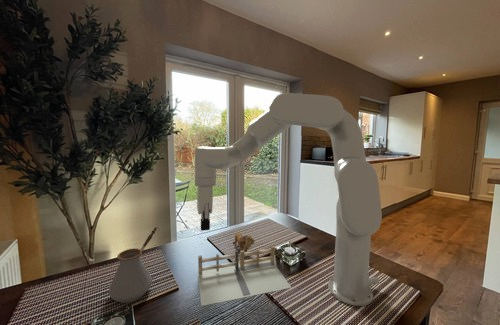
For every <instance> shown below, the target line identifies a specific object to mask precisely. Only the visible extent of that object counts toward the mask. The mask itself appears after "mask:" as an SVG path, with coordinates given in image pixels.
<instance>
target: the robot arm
mask: <svg viewBox="0 0 500 325" xmlns="http://www.w3.org/2000/svg"><path fill="white" fill-rule="evenodd" d="M270 101H271V102H270V103H269V106H268V109H267V110H266V111H265V112H264V113H261V114H260V115H259V116H258V117H256V118H255V119H254V120H252V121H251V122H249V124H248V126H247V128H246V131H245V133H244V134H243V136H242V137H240V138H239V139H238V140H237V141H236V142H234V143H232V144H231V145H230V146H221V147H213V146H198V147H196V148H195V150H194V186H195V187H197V188H196V189H197V192H196V193H197V194H196V196H197V197H196V199H197V201H196V202H197V203H196V204H197V205H196V209H197V210H196V211H197V214H198V215H199V216H200V230H201V231H210V229H211V220H210V219H211V218H210V214H212V213H213V207H214V206H213V203H214V199H213V198H214V187H215V186H216V185H217V170H226V169H227V170H228V169H229V168H233V167H236V166H237V165H239V164H241V163H243V162H244V161H245V160H247V159H248V158H249V157H251V156H252V155H254V154H255V153H256V152H258V150H261V149H262V148H263V147H264V146H265V145H267V144H268V143H269V142H271V141H272V140H273V139H275V138H276V137H278V136H279V135H280V134H282V133H284V132H285V131H286V130H287V129H289V128H290V127H292V126H298V127H299V126H300V127H307V128H315V129H318V130H322V131H324V132H326V133H327V134H328V136H329V138H330V140H331V141H330V142H331V147H332V148H331V149H332V153H333V154H332V155H333V165H334V166H333V167H334V169H333V170H334V172H333V174H334V179H335V180H336V182H337V190H338V199H337V202H336V213H335V214H336V217H335V218H336V224H335V226H336V227H335V232H336V233H335V246H334V265H333V266H334V267H333V268H334V269H333V276H332V277H331V278H330V279H329V280H328V284H327V288H328V289H329V292H330V293H331V294H332V295H333V296H334V298H336V299H337V300H339V301H340V302H343V303H344V304H348V305H350V306H356V307H363V306H367V305H370V304H371V303H372V302H373V298H374V297H373V296H374V294H373V291H372V290H371V287H372V286H373V285H378V284H379V283H380V279H379V278H378V277H377V276H373V277H370V275H369V268H370V255H371V243H372V242H371V241H372V239H371V238H372V235H375V233H376V232H377V231H379V228H380V227H381V224H382V218H383V216H382V203H381V193H380V192H381V191H380V183H379V177H378V174H377V171H376V169H375V168H374V166H373V165H372V164H371V163H370V162H369V161H367V157H366V148H365V145H364V143H365V142H364V137H363V136H364V135H363V133H362V129H361V126H360V124H359V122H358V120H357V119H356V118H355V117H354V116H353V115H352V114H351V113H350V112H348V110H345V109H344V105H343V104H342V102H341V101H340V100H339V99H338V98H336V97H334V96H331V95H326V94H325V95H323V94H307V93H306V94H305V93H296V92H295V93H292V92H284V93H279V94H277V95H276V96H274V98H272V100H270Z"/></svg>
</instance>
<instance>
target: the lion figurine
mask: <svg viewBox="0 0 500 325" xmlns="http://www.w3.org/2000/svg"><path fill="white" fill-rule="evenodd" d="M255 242H256V239H254V238H253V237H252V235H250V234H246V235H242V233H240V232H237V233H236V234H235V235H234V241H233V242H232V244H233V245H234V246H233V247H234V249H235V250H236V249H237V245H238V246H239V252H240V251H242V250H244V253H245V252H248V250H249V249H250V248H251V247H252V245H254V244H255Z"/></svg>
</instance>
